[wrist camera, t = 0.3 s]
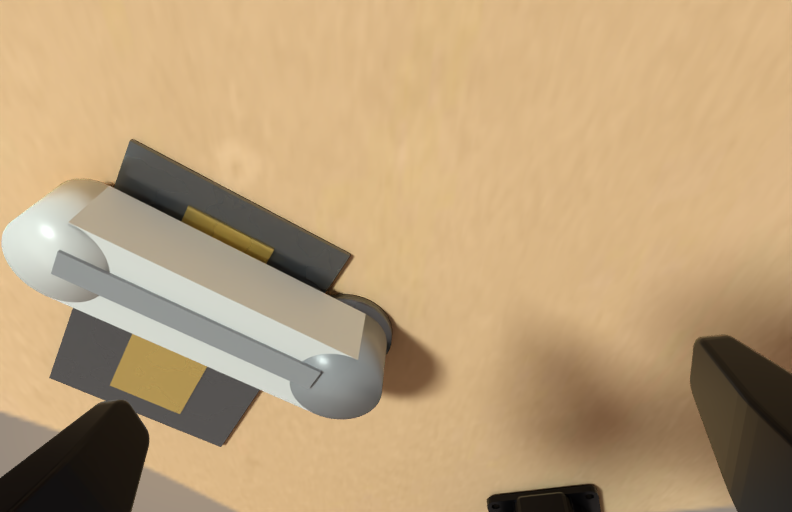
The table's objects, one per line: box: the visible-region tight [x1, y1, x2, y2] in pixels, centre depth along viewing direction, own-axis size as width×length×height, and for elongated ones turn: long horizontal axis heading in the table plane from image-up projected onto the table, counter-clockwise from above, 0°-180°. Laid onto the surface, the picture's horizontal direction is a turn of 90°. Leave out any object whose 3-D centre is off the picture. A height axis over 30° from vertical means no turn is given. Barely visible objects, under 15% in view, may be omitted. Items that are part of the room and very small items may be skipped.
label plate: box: [50, 139, 392, 447], centre depth 27 cm, size 16×14×1 cm
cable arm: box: [2, 179, 387, 419], centre depth 23 cm, size 4×16×3 cm, turn 59°
